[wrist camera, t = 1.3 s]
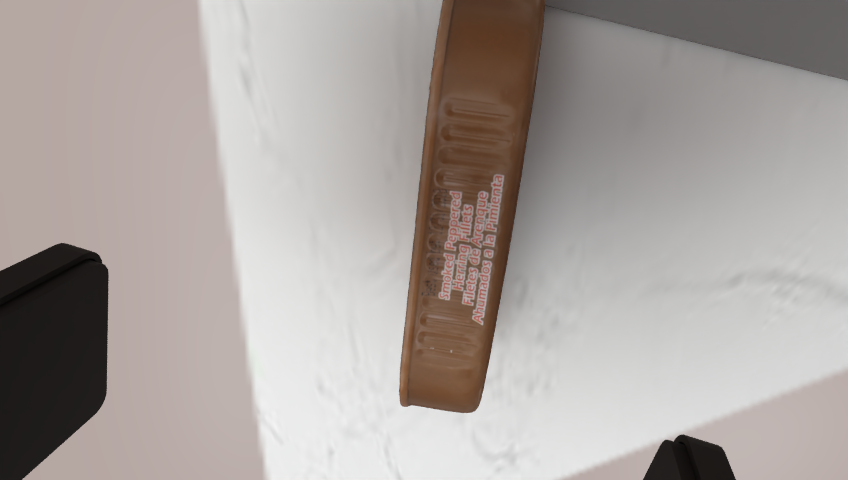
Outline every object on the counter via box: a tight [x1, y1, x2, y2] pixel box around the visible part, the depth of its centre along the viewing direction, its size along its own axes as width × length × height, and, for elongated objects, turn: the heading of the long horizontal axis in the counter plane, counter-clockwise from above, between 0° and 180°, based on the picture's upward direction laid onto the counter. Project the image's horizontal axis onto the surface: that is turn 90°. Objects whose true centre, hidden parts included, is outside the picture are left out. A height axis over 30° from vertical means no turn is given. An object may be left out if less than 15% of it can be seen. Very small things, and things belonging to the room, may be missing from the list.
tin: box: [399, 0, 545, 413], centre depth 20 cm, size 15×3×8 cm, turn 174°
